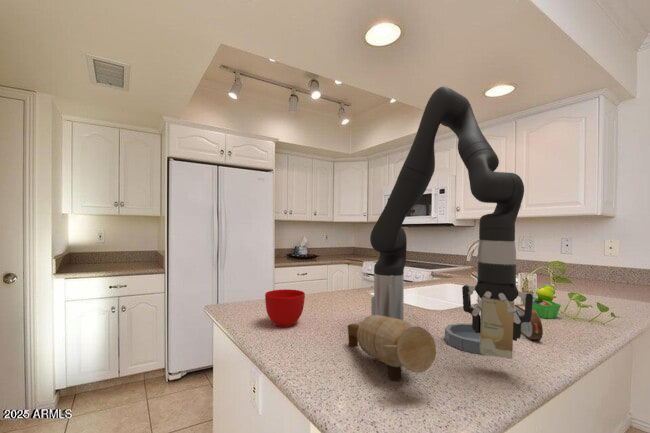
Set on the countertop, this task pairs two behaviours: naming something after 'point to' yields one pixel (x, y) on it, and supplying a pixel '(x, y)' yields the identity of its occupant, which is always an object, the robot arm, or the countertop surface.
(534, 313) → the tin
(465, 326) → the round dish
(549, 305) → the fruit basket
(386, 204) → the robot arm
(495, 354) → the skincare box
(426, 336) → the wooden log toy
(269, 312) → the ceramic cup
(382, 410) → the countertop surface
